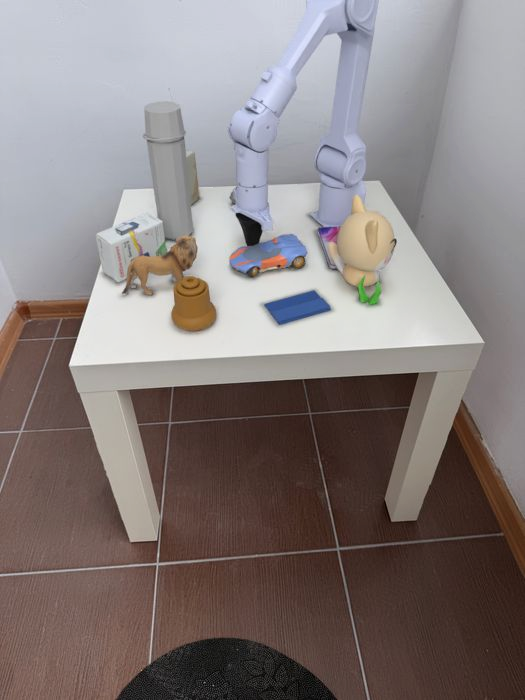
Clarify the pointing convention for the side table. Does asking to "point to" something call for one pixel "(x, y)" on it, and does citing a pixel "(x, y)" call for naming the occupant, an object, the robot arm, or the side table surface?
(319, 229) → the smartphone
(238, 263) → the toy car
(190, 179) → the box
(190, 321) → the ornamental finial
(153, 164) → the water bottle
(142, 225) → the ink box
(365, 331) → the side table surface
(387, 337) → the side table surface
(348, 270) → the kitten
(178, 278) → the lion figurine
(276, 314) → the cloth
